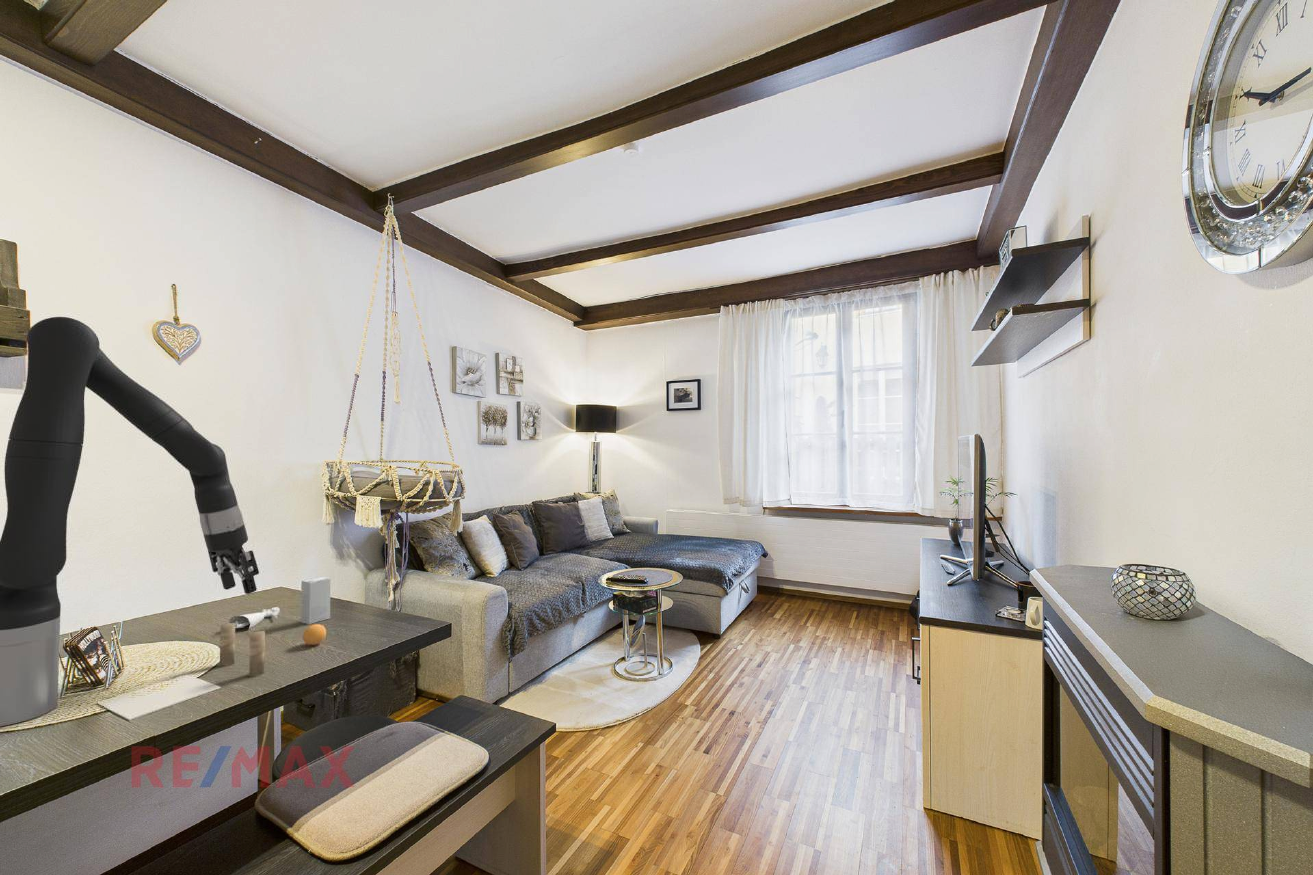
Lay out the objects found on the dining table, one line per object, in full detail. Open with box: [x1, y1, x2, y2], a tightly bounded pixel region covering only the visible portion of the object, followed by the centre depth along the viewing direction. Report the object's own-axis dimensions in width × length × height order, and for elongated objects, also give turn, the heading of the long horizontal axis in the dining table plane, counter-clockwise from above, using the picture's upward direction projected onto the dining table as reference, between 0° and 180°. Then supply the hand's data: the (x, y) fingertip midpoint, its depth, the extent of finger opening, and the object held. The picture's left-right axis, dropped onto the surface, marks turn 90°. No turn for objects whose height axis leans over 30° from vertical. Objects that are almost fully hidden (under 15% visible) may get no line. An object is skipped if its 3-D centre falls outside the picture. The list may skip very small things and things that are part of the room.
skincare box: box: [300, 576, 331, 625], centre depth 148 cm, size 6×4×12 cm
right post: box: [248, 630, 266, 678], centre depth 113 cm, size 3×3×9 cm
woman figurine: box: [225, 605, 280, 630], centre depth 146 cm, size 12×4×18 cm
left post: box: [219, 622, 236, 667], centre depth 118 cm, size 3×3×9 cm
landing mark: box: [97, 674, 222, 721], centre depth 103 cm, size 14×14×1 cm
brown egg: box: [302, 623, 327, 646], centre depth 130 cm, size 5×5×5 cm
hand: (240, 590), depth 122 cm, fingers open, 8 cm apart
